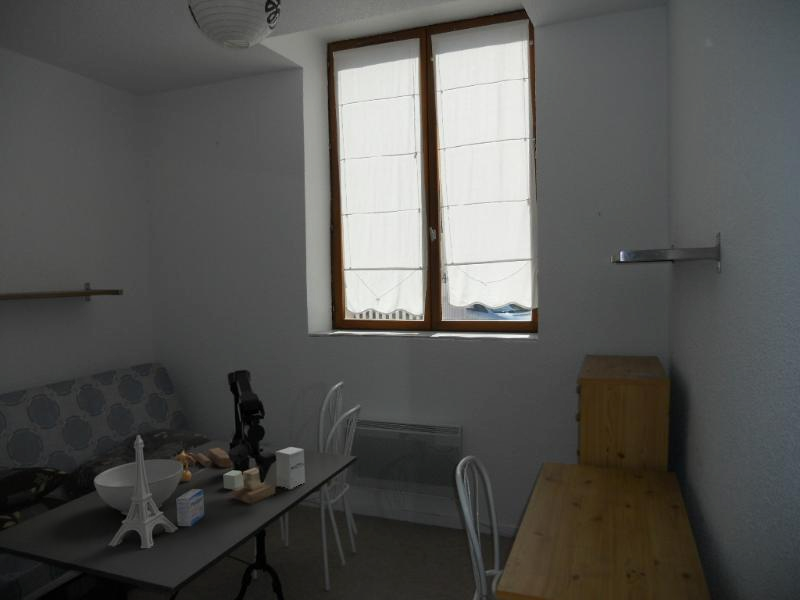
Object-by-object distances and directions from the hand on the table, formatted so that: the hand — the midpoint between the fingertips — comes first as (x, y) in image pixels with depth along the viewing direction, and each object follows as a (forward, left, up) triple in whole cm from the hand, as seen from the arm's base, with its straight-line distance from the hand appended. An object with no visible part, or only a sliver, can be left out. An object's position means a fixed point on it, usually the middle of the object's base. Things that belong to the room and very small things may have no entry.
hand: (253, 480), depth 194 cm
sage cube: (-14, +2, -6) cm, 15 cm away
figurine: (-34, -5, -6) cm, 35 cm away
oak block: (0, 0, -2) cm, 3 cm away
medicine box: (0, -24, -6) cm, 25 cm away
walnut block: (0, 0, -6) cm, 6 cm away
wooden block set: (-45, +10, -6) cm, 46 cm away
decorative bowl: (-24, -27, -6) cm, 37 cm away
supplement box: (+3, +14, -6) cm, 15 cm away
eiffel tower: (-2, -38, -6) cm, 39 cm away
